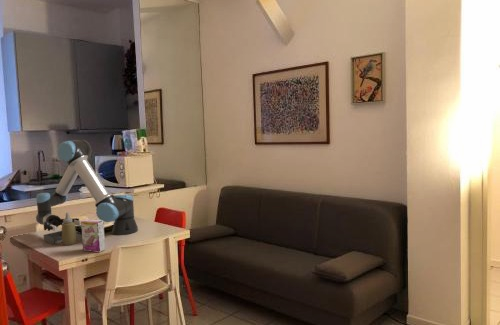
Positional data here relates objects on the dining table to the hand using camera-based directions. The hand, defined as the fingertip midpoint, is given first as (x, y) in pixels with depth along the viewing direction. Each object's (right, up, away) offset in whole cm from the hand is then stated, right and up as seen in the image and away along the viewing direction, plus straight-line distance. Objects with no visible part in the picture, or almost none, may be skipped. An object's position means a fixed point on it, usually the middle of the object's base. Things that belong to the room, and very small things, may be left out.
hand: (68, 226), depth 238 cm
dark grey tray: (-9, -10, +10) cm, 17 cm away
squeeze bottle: (0, -10, +2) cm, 11 cm away
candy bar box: (+19, -11, -12) cm, 26 cm away
